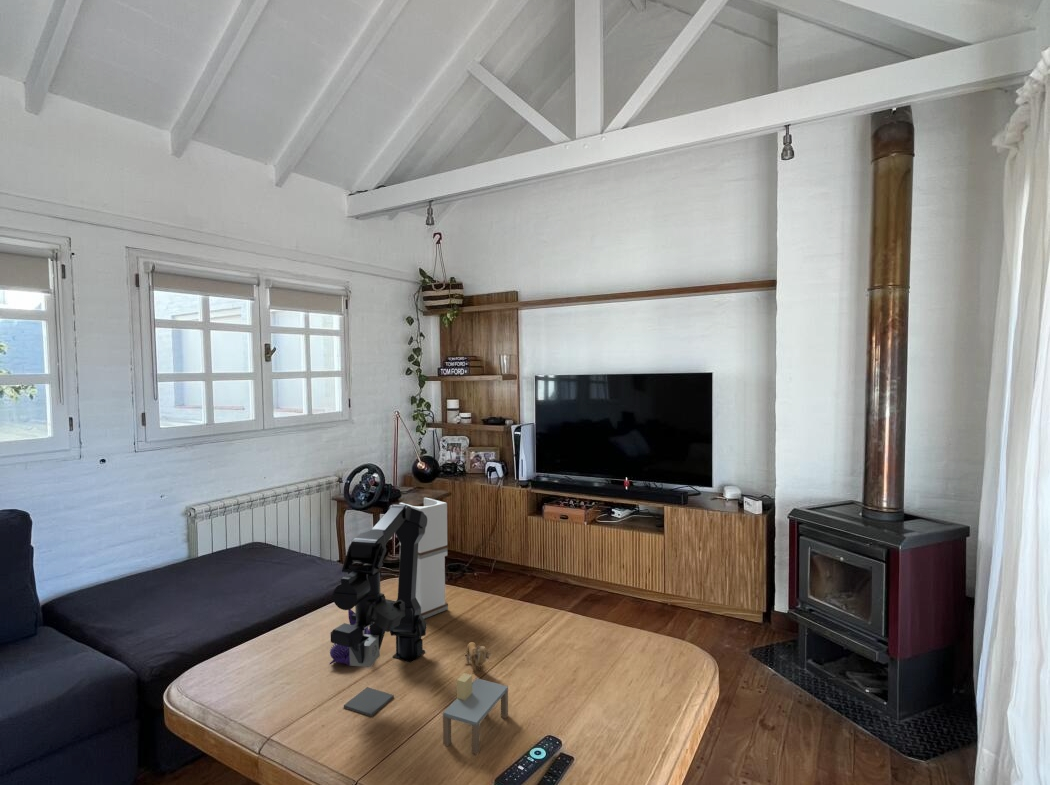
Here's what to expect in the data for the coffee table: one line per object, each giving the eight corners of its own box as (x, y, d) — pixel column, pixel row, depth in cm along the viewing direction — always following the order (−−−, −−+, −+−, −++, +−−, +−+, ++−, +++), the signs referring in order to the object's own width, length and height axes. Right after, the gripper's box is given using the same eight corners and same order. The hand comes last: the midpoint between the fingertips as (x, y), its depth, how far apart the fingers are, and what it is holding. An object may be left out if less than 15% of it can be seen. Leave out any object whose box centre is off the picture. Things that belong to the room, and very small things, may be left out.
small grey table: (443, 744, 114) (442, 693, 114) (476, 707, 127) (476, 661, 127) (476, 755, 111) (476, 703, 111) (508, 716, 124) (507, 668, 123)
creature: (390, 646, 156) (390, 604, 156) (339, 676, 141) (338, 629, 140) (369, 638, 161) (368, 597, 160) (316, 666, 146) (315, 621, 145)
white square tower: (448, 609, 180) (446, 502, 179) (421, 619, 172) (419, 508, 171) (427, 599, 188) (425, 497, 187) (400, 609, 180) (398, 503, 179)
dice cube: (360, 654, 132) (359, 633, 132) (379, 655, 131) (379, 635, 131) (349, 665, 127) (349, 644, 127) (370, 667, 127) (369, 646, 126)
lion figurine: (492, 675, 141) (492, 647, 140) (477, 680, 138) (477, 651, 138) (471, 655, 151) (471, 628, 151) (457, 659, 149) (457, 632, 148)
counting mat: (343, 707, 127) (343, 705, 127) (367, 689, 135) (367, 687, 135) (371, 716, 124) (371, 713, 124) (393, 697, 131) (393, 694, 131)
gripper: (368, 614, 116) (369, 686, 117) (420, 582, 133) (421, 645, 134) (327, 605, 121) (329, 674, 122) (383, 575, 138) (384, 636, 139)
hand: (369, 657), depth 129 cm, fingers closed on dice cube, 5 cm apart
